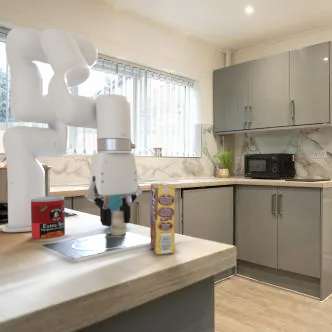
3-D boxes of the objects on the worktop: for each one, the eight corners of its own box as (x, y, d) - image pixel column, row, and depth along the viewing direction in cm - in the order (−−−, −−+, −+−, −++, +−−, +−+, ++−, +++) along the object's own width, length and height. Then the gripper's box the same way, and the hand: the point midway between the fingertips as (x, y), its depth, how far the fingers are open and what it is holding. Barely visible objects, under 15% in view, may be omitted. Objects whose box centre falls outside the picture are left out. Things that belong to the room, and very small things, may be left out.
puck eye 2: (107, 234, 89) (107, 223, 89) (121, 231, 92) (121, 221, 92) (115, 236, 86) (115, 224, 86) (129, 233, 89) (129, 222, 89)
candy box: (176, 253, 72) (175, 184, 72) (156, 255, 71) (155, 185, 70) (168, 244, 80) (167, 182, 80) (149, 246, 79) (149, 183, 78)
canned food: (40, 243, 82) (40, 199, 82) (25, 239, 87) (24, 198, 86) (71, 237, 89) (70, 196, 89) (55, 233, 93) (54, 195, 93)
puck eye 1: (103, 224, 78) (102, 211, 78) (119, 221, 81) (118, 209, 81) (111, 226, 75) (111, 213, 75) (127, 223, 78) (127, 211, 78)
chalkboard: (41, 248, 78) (41, 244, 78) (120, 233, 93) (120, 230, 93) (74, 262, 66) (74, 258, 66) (158, 243, 82) (158, 239, 82)
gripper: (137, 149, 87) (138, 217, 87) (70, 147, 74) (72, 227, 74) (153, 147, 82) (155, 220, 82) (85, 145, 69) (87, 231, 69)
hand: (115, 223), depth 78 cm, fingers closed on puck eye 1, 4 cm apart
